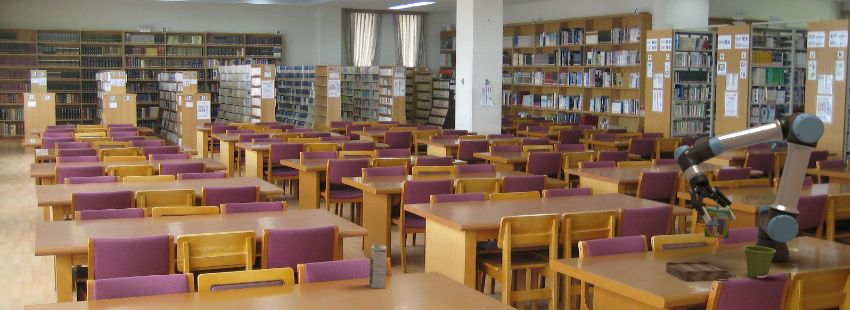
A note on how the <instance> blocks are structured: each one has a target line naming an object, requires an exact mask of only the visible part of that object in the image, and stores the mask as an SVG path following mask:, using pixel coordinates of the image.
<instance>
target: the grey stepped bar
mask: <svg viewBox="0 0 850 310" xmlns="http://www.w3.org/2000/svg"><path fill="white" fill-rule="evenodd" d="M731 277H732V278H736V277H737V273H736V272H735V273H734V272H730V271H729V278H731Z"/></svg>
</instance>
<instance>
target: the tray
mask: <svg viewBox="0 0 850 310" xmlns="http://www.w3.org/2000/svg"><path fill="white" fill-rule="evenodd" d="M665 272H667V273H668V274H670V275H672V276H674V277H677V278H678V279H680V280H682V281H684V282H705V281H707V282H708V281H711V282H712V280H717V281H720V280H719V279H729V280H730V277H729V272H730V270H729V269H722V268H720V267H717V266H715V265H713V264H710V261H709V260H707V261H704V260H703V261H700V260H699V261H667V262H666V265H665Z"/></svg>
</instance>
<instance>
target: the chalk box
mask: <svg viewBox="0 0 850 310" xmlns="http://www.w3.org/2000/svg"><path fill="white" fill-rule="evenodd" d="M715 203H716V206H709V205H708V206H706V208H705V209H706V211H707V213H708V215H709V216H710V218H711V221H710V222H709V223H708V224H706V223H705V226H704V237H705V238H716V239H717V238H718V239H719V238H720V239H725V240H726V239H727V240H728V239H729V238H730V237H729V231H730V221H729V219H730V208H731V207H730V208H723V207H722V206H719V204H718V202H717V199H716V202H715Z"/></svg>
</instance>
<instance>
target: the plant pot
mask: <svg viewBox="0 0 850 310" xmlns="http://www.w3.org/2000/svg"><path fill="white" fill-rule="evenodd" d="M743 249H744V254H745V259H746V270H747V272H746V273H747V277H749V278H755V277H757V276H765V275H768V276H769V272H770V268H771V264H772V258H773V256H774V252H776V250H774V249H772V248H767V247H761V246H755V245H745V246H743Z"/></svg>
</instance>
